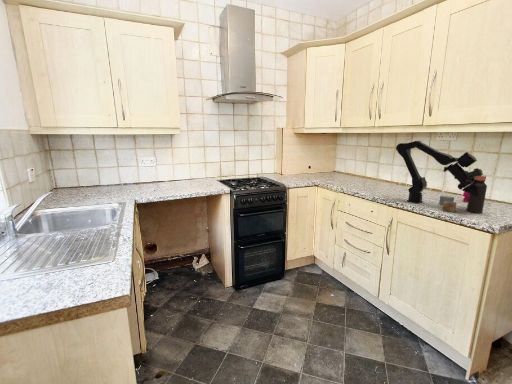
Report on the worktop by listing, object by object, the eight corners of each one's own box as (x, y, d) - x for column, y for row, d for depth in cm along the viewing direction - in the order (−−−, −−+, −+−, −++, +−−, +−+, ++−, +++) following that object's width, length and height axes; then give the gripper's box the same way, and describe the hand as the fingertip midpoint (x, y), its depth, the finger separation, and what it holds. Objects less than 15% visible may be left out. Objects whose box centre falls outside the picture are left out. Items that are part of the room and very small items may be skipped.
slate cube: (439, 204, 163) (440, 196, 162) (444, 203, 165) (445, 195, 164) (447, 206, 159) (448, 197, 158) (453, 205, 160) (454, 197, 159)
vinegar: (475, 210, 149) (481, 174, 145) (485, 213, 143) (492, 176, 139) (463, 209, 150) (469, 174, 146) (472, 213, 143) (478, 176, 139)
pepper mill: (463, 199, 173) (468, 169, 169) (477, 201, 168) (483, 170, 164) (460, 201, 168) (465, 170, 164) (475, 203, 163) (480, 171, 159)
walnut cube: (442, 211, 148) (443, 202, 147) (444, 209, 152) (445, 200, 151) (453, 212, 145) (454, 204, 144) (455, 211, 148) (456, 202, 147)
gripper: (468, 164, 138) (492, 188, 132) (477, 162, 150) (499, 184, 144) (448, 178, 145) (470, 201, 139) (458, 174, 157) (478, 195, 151)
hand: (480, 195), depth 143 cm, fingers open, 9 cm apart
